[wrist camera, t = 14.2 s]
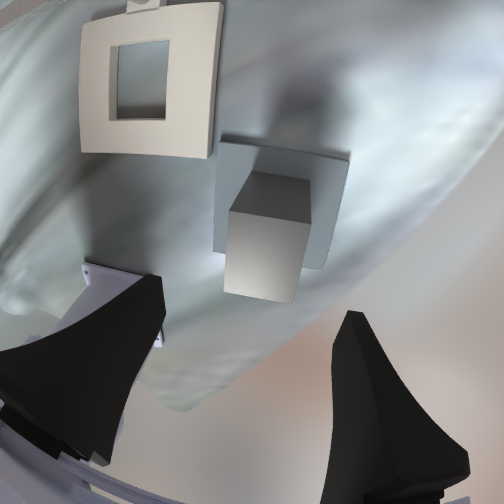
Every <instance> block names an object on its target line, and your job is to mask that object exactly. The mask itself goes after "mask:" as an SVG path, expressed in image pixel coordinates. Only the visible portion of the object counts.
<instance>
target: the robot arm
mask: <svg viewBox="0 0 504 504" xmlns="http://www.w3.org/2000/svg"><path fill="white" fill-rule="evenodd" d="M82 270H83V274H84V277H85V281H86V284H87V288H86V289H85V290H84V291H83V293H82V294H81V295H80V296H79V297H78V299H77V300H76V301H75V302H74V304H73V305H72V306H71V307H70V309H69V310H68V311H67V312H66V314H65V315H64V316H63V317H62V319H61V320H60V321H59V323H58V324H57V325H56V327H55V328H54V329H53V331H52V332H51V333H50V335H49V336H47V337H45V338H43V337H42V336H41V335H39V334H38V335H30V336H29V337H28V338H27V340H26V341H25V342H24V343H23V345H22V346H20V347H17V348H12V349H8V350H4V351H0V504H119V503H117V502H115V501H113V500H110V499H108V498H106V497H104V496H102V495H99V494H97V493H95V492H93V491H92V490H91V488H90V485H89V483H90V484H92V485H94V486H96V487H98V488H100V489H102V490H104V491H106V492H108V493H111V494H112V495H115V496H117V497H120V498H122V499H124V500H127V501H129V502H132V503H134V504H185V503H181V502H178V501H174V500H171V499H168V498H165V497H161V496H159V495H156V494H153V493H150V492H147V491H144V490H142V489H139V488H137V487H134V486H132V485H129V484H126V483H124V482H122V481H119V480H117V479H115V478H112V477H110V476H108V475H106V474H104V473H102V472H100V471H98V470H95V469H94V468H92V467H91V466H92V465H93V464H94V463H96V464H98V465H100V466H107V465H109V464H110V462H111V456H112V451H113V446H114V445H115V443H116V442H117V440H118V438H119V436H120V434H121V431H122V428H123V422H124V417H123V410H124V407H125V404H126V401H127V398H128V396H129V393H130V390H131V389H132V388H133V386H134V385H135V383H136V381H137V379H138V377H139V375H140V373H141V371H142V369H143V367H144V364H145V362H146V360H147V358H148V356H149V354H150V352H151V350H152V348H153V346H156V347H162V346H163V339H162V333H161V327H162V324H163V321H164V318H165V316H166V309H165V301H164V294H163V286H162V278H161V277H160V276H156V275H151V274H147V275H145V276H141V275H136V274H132V273H128V272H123V271H119V270H115V269H111V268H107V267H103V266H99V265H95V264H91V263H87V262H84V263H83V264H82ZM331 374H332V395H333V431H332V440H331V449H330V456H329V462H328V469H327V474H326V479H325V484H324V489H323V493H322V497H321V501H320V504H440V499H442V498H443V497H444V489H446V488H448V487H451V486H453V485H455V484H457V483H459V482H461V481H462V480H465V479H466V478H467V477H468V476H469V475H470V465H469V458H468V452H467V451H466V450H465V449H464V448H462V447H461V446H460V445H459V444H458V443H456V442H455V441H454V440H453V439H452V438H450V437H449V436H448V435H447V434H446V433H445V432H444V431H443V430H442V429H441V428H440V427H439V426H438V425H437V424H436V423H435V422H434V421H433V420H432V419H431V417H430V416H429V415H428V414H427V413H426V412H425V411H424V409H423V408H422V407H421V406H420V405H419V403H418V402H417V401H416V400H415V398H414V397H413V396H412V394H411V393H410V392H409V390H408V389H407V387H406V386H405V385H404V383H403V382H402V380H401V379H400V377H399V376H398V374H397V372H396V371H395V369H394V368H393V366H392V364H391V363H390V361H389V359H388V358H387V356H386V354H385V352H384V350H383V349H382V347H381V345H380V343H379V341H378V339H377V338H376V336H375V334H374V332H373V330H372V328H371V327H370V325H369V323H368V321H367V319H366V317H365V315H364V314H363V312H356V311H350V310H348V311H347V314H346V316H345V318H344V321H343V323H342V325H341V327H340V330H339V332H338V334H337V336H336V339H335V341H334V343H333V349H332V365H331ZM87 482H88V483H87ZM444 504H470V497H469V496H467V497H464V498H461V499H458V500H454V501H451V502H448V503H444Z"/></svg>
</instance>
